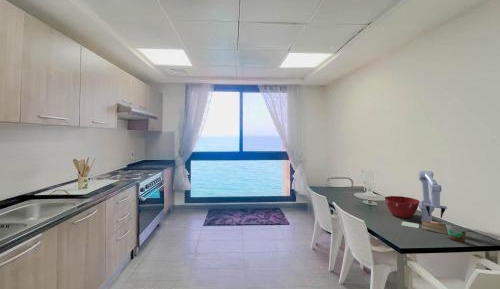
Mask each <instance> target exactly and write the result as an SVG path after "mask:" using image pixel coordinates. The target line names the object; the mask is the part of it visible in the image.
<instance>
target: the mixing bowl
mask: <svg viewBox="0 0 500 289" xmlns="http://www.w3.org/2000/svg"><path fill="white" fill-rule="evenodd" d="M384 199H385V200H384V201H385V204H386V206H387V209H388V212H390V213H391V214H392V215H393V216H395V217H397V218H405V219H406V218H407V219H408V218H411V217H412V216H414V214H415V213H416V212H417V210H418V207H419V205H420V201H421V200H419V199H416V198H412V197H407V196H400V195H389V196H385V197H384Z"/></svg>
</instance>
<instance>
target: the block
mask: <svg viewBox="0 0 500 289" xmlns="http://www.w3.org/2000/svg"><path fill="white" fill-rule="evenodd" d="M438 223H439V221H433V220H432V221H431V226H437V227H438Z"/></svg>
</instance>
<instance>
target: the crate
mask: <svg viewBox="0 0 500 289" xmlns="http://www.w3.org/2000/svg"><path fill="white" fill-rule="evenodd" d="M446 225H447V223H443V222H438V227H437V226H431V221H425V220H422V222H421V230H423V231H430V232H435V233H439V234H447V235H448V230H447V227H446ZM449 225H451V224H450V223H449Z"/></svg>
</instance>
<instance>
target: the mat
mask: <svg viewBox="0 0 500 289" xmlns="http://www.w3.org/2000/svg"><path fill="white" fill-rule="evenodd" d="M400 226H402V227H409V228H413V229H420V224H419V223H415V222H409V221H402V222H401V225H400Z"/></svg>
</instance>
